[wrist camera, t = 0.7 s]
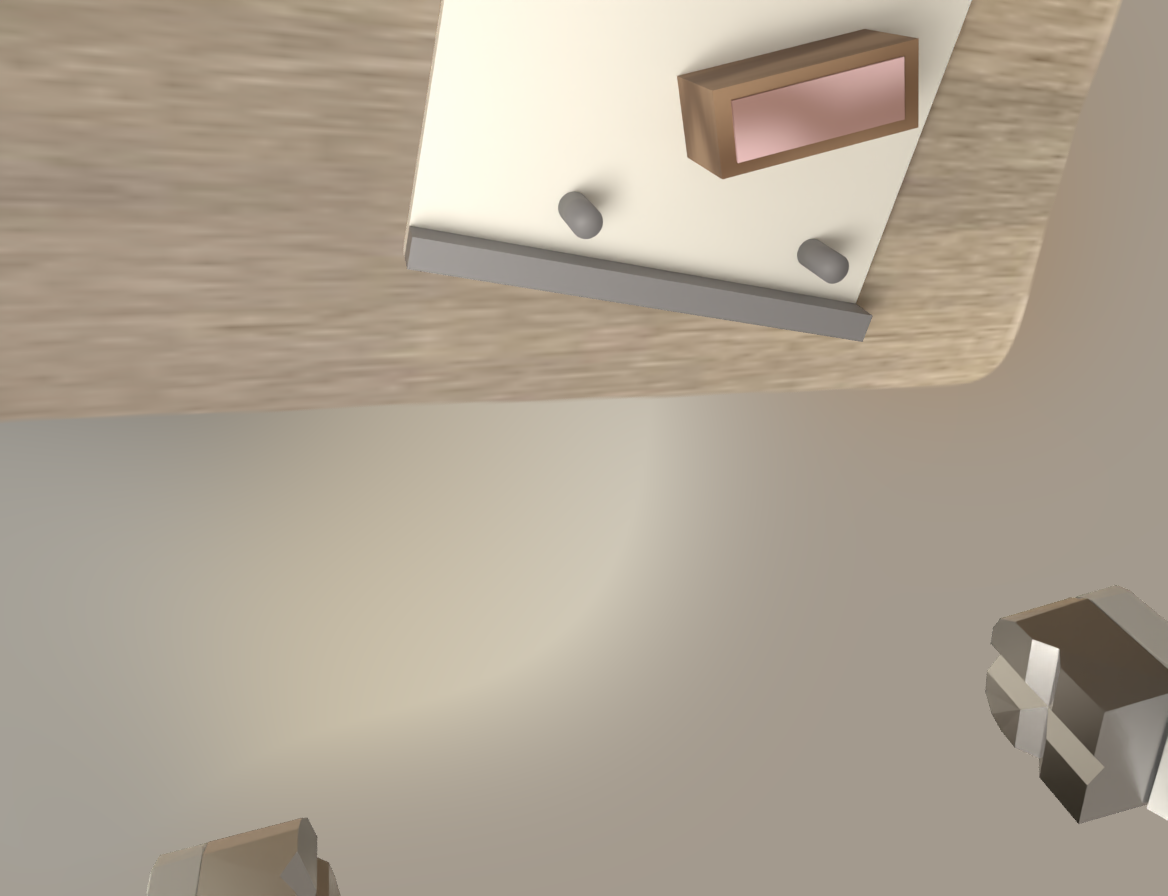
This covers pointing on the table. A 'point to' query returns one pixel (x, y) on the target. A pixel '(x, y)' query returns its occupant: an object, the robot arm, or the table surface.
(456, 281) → the table surface
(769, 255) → the board
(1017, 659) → the robot arm
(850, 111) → the wooden block
